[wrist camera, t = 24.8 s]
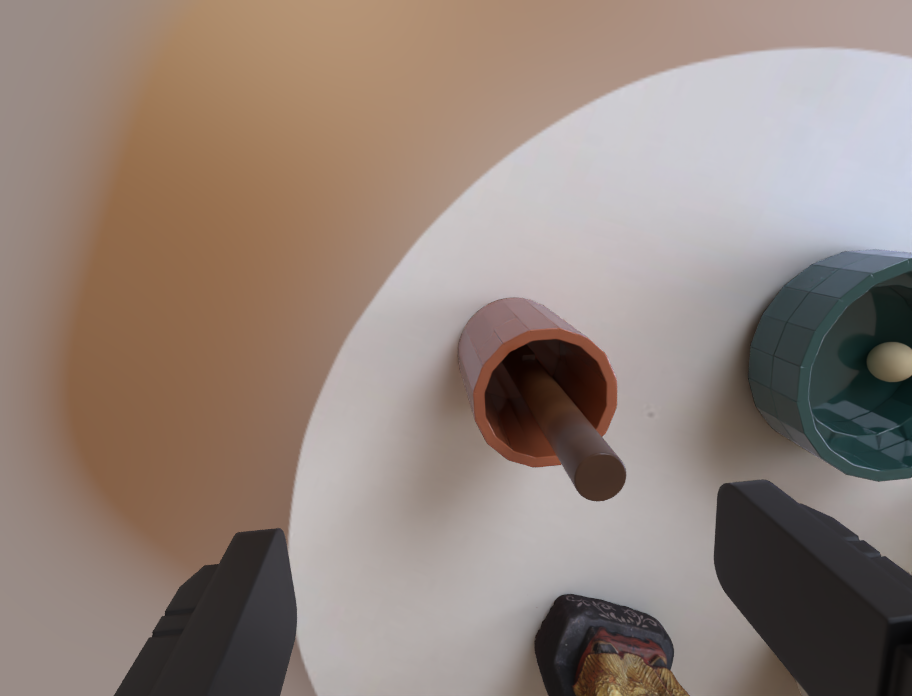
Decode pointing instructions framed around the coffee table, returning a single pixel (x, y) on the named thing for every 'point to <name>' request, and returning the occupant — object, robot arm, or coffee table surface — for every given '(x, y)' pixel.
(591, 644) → the statue
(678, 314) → the coffee table surface
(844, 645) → the robot arm
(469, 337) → the crock
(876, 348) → the dough ball
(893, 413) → the bowl
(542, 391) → the stick
